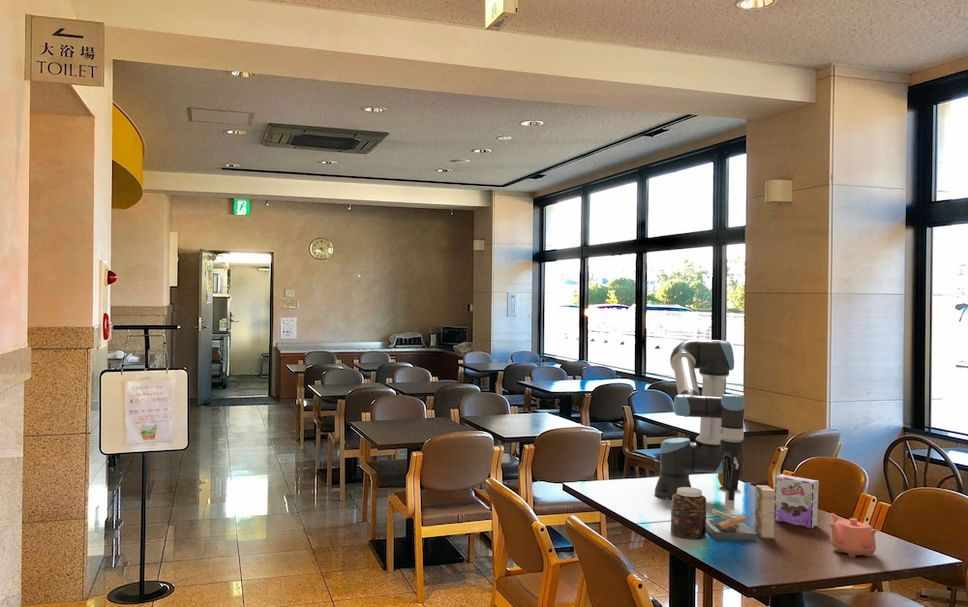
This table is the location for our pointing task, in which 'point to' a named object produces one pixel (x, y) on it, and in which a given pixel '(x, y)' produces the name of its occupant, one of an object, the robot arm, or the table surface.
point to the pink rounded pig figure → (852, 537)
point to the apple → (721, 479)
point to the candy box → (796, 501)
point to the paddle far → (722, 514)
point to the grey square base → (730, 531)
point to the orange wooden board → (732, 521)
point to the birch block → (764, 511)
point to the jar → (688, 513)
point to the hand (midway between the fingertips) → (729, 509)
